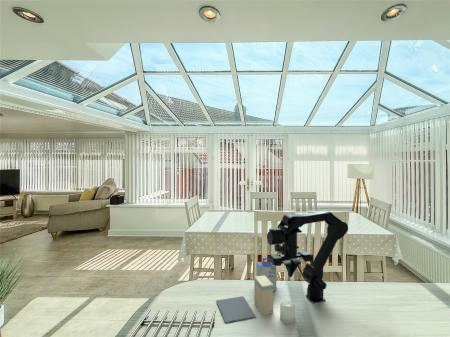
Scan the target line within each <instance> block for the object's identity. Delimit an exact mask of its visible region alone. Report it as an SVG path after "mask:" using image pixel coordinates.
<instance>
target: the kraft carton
mask: <svg viewBox="0 0 450 337" xmlns="http://www.w3.org/2000/svg"><path fill="white" fill-rule="evenodd" d="M253 282H254V284H253V285H254V287H253V288H254V289H253V290H254V299H253V300H254V301H253V302H254V304H255V305H256V307H257V308H258V310H259V311H260V313H261V315H265V314H270V313H271V314H272V313H274V291H273V284H272V283H271V282H270V281H269V279H268V278H267V277H266V276H265V275H263V276H256V275H255V276H254V278H253Z"/></svg>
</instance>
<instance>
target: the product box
mask: <svg viewBox="0 0 450 337" xmlns="http://www.w3.org/2000/svg"><path fill="white" fill-rule="evenodd" d="M255 269H256V271H255V274H256V275H255V277H256V276H263V275H265V276H266V277H267V278H268V279H269V281H270V282H271V283H272V284H273V292H276V291H277V266H274V265H273V264H272V263H271V262H270V261H269V258H266V257H263V258H262V262H260V261H257V262H256V268H255Z"/></svg>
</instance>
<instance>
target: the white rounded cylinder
mask: <svg viewBox="0 0 450 337" xmlns="http://www.w3.org/2000/svg"><path fill="white" fill-rule="evenodd" d="M279 320H280V322H282V324H285V325H293V324H294V323H295V322H296V304H295V303H294V302H293V301H289V300H283V301H281V302H280V303H279Z"/></svg>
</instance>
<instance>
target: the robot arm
mask: <svg viewBox="0 0 450 337" xmlns="http://www.w3.org/2000/svg"><path fill="white" fill-rule="evenodd" d="M320 222H325V223H326V225H327V228H326V233H327V234H326V236H325V238H324V240H323V242H322V244H321V246H320V248H319V250H318V252H317V253H316V255H315V258H314V259H313V256H312V254H311V253H309V252H308V251H306V250H302V251H298V249H299V248H300V246H299V245H298V234H301V233H302V232H303V231H302V230H301V229H300V228H302V227H303V226H304V225H307V224H313V223H320ZM348 230H349V226H348V224H347V222H345V221H343V220H341V219H340V218H339V217H337V216H335V215H334V214H333V212H331V211H330V210H329V211H328V210H325V209H324V210H321V211H315V212H308V213H302V214H299V213H290V212H289V213H284V215H283V217H282V219H281V220H280V222H279V224H278V225H277V227H276V228H269V229H268V232H267V233H266V234H267V235H266V240H267V243H268V244H269V245H270V246H274V252H277V253H278V254H276V253H275V254H270V255H269V257H268V259H269V261H270V263H272V264H273V265H274V266H276V267H277V266H282V265H284V267H285V269H286V272H287V274H288V277H289V278H292V277H293V275H294V273H295V271H296V270H297V268H298V267H299V266H300V265H301V262H300V260H302V259H304V261H305V265H304V266H305V267H303V269H302V276H303V279H305V282H306V283H308V284H307V288H306V294H305V296H306V298H308V299H309V301H311V302H312V303H315V304H316V303H320V302H326V298H325V297H324V290H326V289H327V283H326V282H324V281H323V277H324V267H325V265H326V264H327V261H328V259H329V258H330V256H331V254H332V252H333V250H334V248H335V246H336V244H337V242H338V241H339V240H340V239H343V238H344V236H345V235H346V234H347V232H348ZM279 254H281V255H282V256H281V255H279ZM269 261H268V262H269ZM308 262H309V263H308Z"/></svg>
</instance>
